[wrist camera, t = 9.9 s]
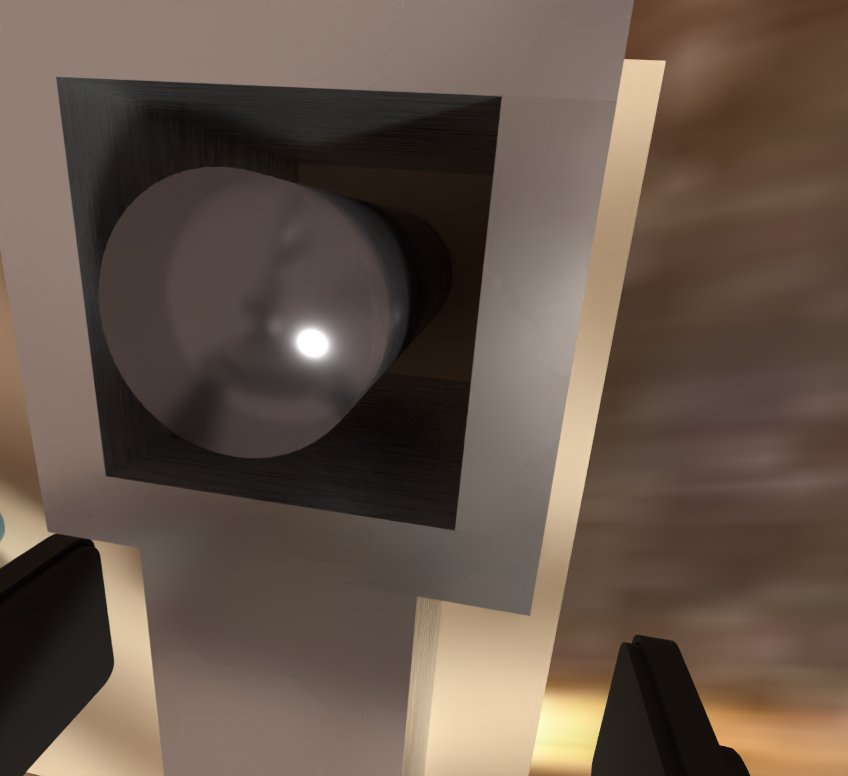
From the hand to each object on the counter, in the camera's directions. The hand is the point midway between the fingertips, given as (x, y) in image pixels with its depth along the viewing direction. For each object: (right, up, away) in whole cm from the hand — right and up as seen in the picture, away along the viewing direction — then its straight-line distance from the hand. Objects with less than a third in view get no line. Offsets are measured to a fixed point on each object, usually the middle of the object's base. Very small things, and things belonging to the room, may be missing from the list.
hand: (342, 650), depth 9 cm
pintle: (+1, +7, 0) cm, 7 cm away
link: (0, +1, +2) cm, 2 cm away
